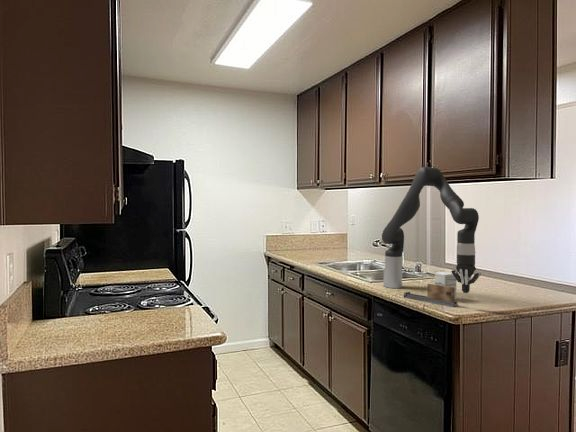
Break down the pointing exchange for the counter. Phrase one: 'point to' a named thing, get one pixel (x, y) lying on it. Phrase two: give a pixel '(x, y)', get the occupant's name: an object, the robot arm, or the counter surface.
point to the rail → (429, 299)
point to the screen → (440, 292)
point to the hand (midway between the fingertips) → (465, 292)
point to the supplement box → (446, 280)
